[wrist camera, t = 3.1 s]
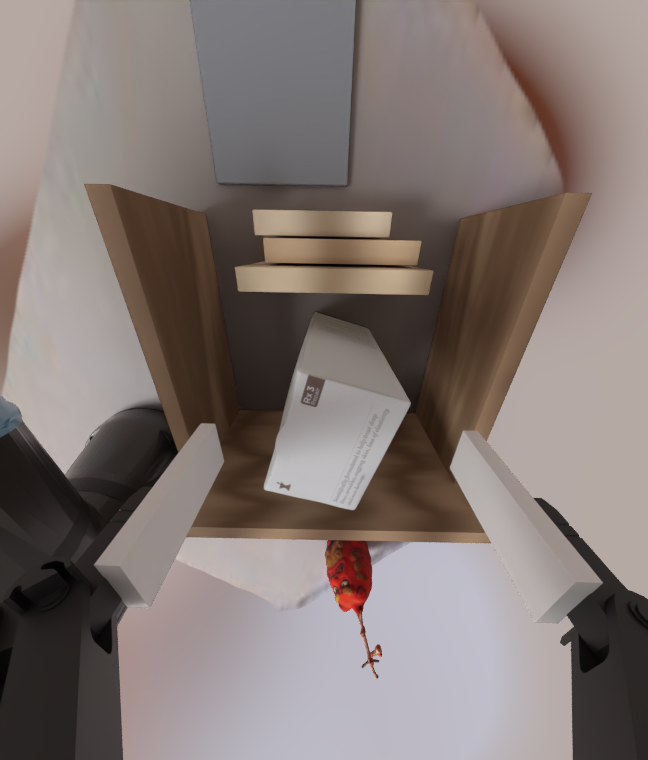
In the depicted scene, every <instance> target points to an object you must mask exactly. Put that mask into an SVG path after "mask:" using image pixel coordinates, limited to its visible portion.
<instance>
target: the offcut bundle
mask: <svg viewBox="0 0 648 760" xmlns="http://www.w3.org/2000/svg"><path fill="white" fill-rule="evenodd" d="M252 212H253V221H254V231H255V235H258V236H263V237H268V238H263V244H264V255H265V261H263V262H258V263H253V264H248V265H242V266H237V267H235V272H236V279H237V286H238V291H242V292H296V293H349V294H402V295H429V290H430V285H431V281H432V276H433V270H428V269H423V268H418V267H413V266H408V265H417V264H418V258H419V253H420V247H421V242H422V241H406V240H378V239H383V238H389V235H390V227H391V219H392V212H357V211H303V210H252Z"/></svg>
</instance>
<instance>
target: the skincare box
mask: <svg viewBox="0 0 648 760" xmlns="http://www.w3.org/2000/svg"><path fill="white" fill-rule="evenodd" d="M410 405H411V402H410V400H409V399H408V397H407V395H406V393H405V391H404V390H403V388H402V386H401V384H400V383H399V381H398V379H397V378H396V376H395V374H394V372H393V371H392V369H391V367H390V365H389V364H388V362H387V360H386V358H385V357H384V355H383V353H382V351H381V350H380V348H379V346H378V344H377V342H376V341H375V339H374V337H373V335H372V334H371V332H370V330H369V329H368V328H365V327H362V326H359V325H356V324H352V323H349V322H346V321H342V320H339V319H336V318H333V317H330V316H326V315H323V314H320V313H317V312H315V313H314V315H313V317H312V320H311V322H310V325H309V328H308V330H307V333H306V336H305V339H304V342H303V345H302V348H301V351H300V354H299V357H298V361H297V364H296V367H295V370H294V374H293V377H292V380H291V384H290V388H289V392H288V396H287V400H286V404H285V408H284V412H283V416H282V421H281V425H280V429H279V433H278V435H277V438H276V443H275V449H274V453H273V456H272V459H271V463H270V466H269V469H268V473H267V476H266V480H265V483H264V490H266V491H271V492H276V493H280V494H284V495H289V496H293V497H297V498H302V499H307V500H312V501H316V502H321V503H325V504H329V505H332V506H336V507H340V508H344V509H350V510H355V509H356V507H357V505H358V503H359V502H360V500H361V498H362V496H363V494H364V492H365V490H366V488H367V486H368V485H369V483H370V481H371V479H372V477H373V475H374V473H375V471H376V470H377V468H378V466H379V464H380V462H381V460H382V458H383V456H384V454H385V453H386V451H387V449H388V447H389V445H390V443H391V441H392V439H393V437H394V435H395V434H396V432H397V430H398V428H399V426H400V424H401V422H402V420H403V418H404V417H405V415H406V413H407V411H408V409H409V407H410Z"/></svg>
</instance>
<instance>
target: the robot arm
mask: <svg viewBox="0 0 648 760" xmlns="http://www.w3.org/2000/svg"><path fill="white" fill-rule="evenodd" d="M223 463H224V458H223V454H222V450H221V446H220V442H219V438H218V433H217V429H216V425H215V424H206V423H201V424H200V425H199V427H198V428H197V429H196V431H195V432H194V433H193V435H192V436H191V437H190V438H189V440H188V441H187V442H186V444H185V445H184V446H183V448H182V449H181V450H180V452H179V453H178V450H177V447H176V444H175V442H174V439H173V436H172V433H171V430H170V427H169V424H168V422H167V419H166V416H165V413H164V412H163V411H158V410H153V409H131V410H126V411H122V412H120V413H117V414H115V415H114V416H112V417H111V418H109V419H108V420H107V421H106V422H104V423H103V424H102V425H100V426H99V427H98V428H97V429H96V430H95V431H94V432H93V433H92V434H91V435H90V437H89V439H88V440H87V442H86V445H85V448H84V450H83V451H82V452H81V454H80V455H79V456H78V458H77V459H76V460H75V461H74V463H73V464H72V466H71V467H70V469H69V470H68V471H67V473H66V474H65V475H64V474H63V472H62V471H61V470H60V468H59V467H58V466H57V465H56V463H55V462H54V461H53V459H52V458H51V457H50V456H49V454H48V453H47V452H46V450H45V449H44V448H43V447H42V445H41V444H40V443H39V441H38V440H37V439H36V438H35V436H34V435H33V434H32V432H31V431H30V430H29V429H28V427H27V426H26V425H25V423H24V422H23V420H22V415H21V412H20V410H19V408H18V407H17V406H16V405H15V404H13V403H11V402H8V401H6V400H5V399H4V398H3V397H2V396H1V394H0V760H123V748H122V726H121V704H120V681H119V659H118V637H117V626H118V624H119V622H120V620H121V619H122V617H123V615H124V613H125V611H126V610H127V608H128V607H129V608H150V607H151V605H152V603H153V601H154V599H155V597H156V595H157V593H158V591H159V589H160V587H161V585H162V583H163V581H164V579H165V577H166V575H167V573H168V571H169V569H170V568H171V566H172V563H173V562H174V560H175V558H176V556H177V554H178V552H179V550H180V548H181V546H182V544H183V542H184V540H185V538H186V536H187V534H188V532H189V530H190V528H191V526H192V524H193V522H194V520H195V518H196V516H197V514H198V512H199V510H200V508H201V506H202V504H203V502H204V500H205V498H206V496H207V494H208V493H209V491H210V489H211V487H212V485H213V483H214V481H215V479H216V477H217V475H218V473H219V471H220V469H221V467H222V465H223ZM450 470H451V471H452V473H453V475H454V477H455V479H456V480H457V482H458V484H459V486H460V488H461V489H462V491H463V493H464V495H465V497H466V499H467V500H468V502H469V504H470V506H471V508H472V509H473V511H474V513H475V515H476V517H477V518H478V520H479V522H480V524H481V526H482V527H483V529H484V531H485V533H486V535H487V536H488V538H489V540H490V542H491V544H492V545H493V547H494V549H495V551H496V553H497V554H498V556H499V558H500V560H501V561H502V563H503V565H504V567H505V569H506V571H507V573H508V574H509V576H510V578H511V580H512V582H513V583H514V585H515V587H516V589H517V591H518V592H519V594H520V596H521V598H522V600H523V602H524V603H525V605H526V607H527V609H528V611H529V612H530V614H531V616H532V618H533V619H534V621H535V622H536V623H559V622H560V621H561V620H563V618H565V617H566V616H568V618H569V619H570V621H571V622H572V623H573V625H574V627H573V628H572V629H571V630H570V631H569V632H567V633H566V634H565V635H564V636H562V638H561V641H560V643H561V644H562V645H564V646H565V645H566V644H568V643H569V642H570V641H571V657H572V659H571V660H572V661H571V662H572V728H573V729H572V731H573V760H648V599H647V598H645V597H644V596H641V595H639V594H637V593H635V592H632V591H629V590H628V589H626V587H625V586H624V585H623V584H622V583H621V582H620V581H619V580H618V579H617V578H616V577H615V575H614V574H613V573H612V572H611V571H610V570H609V569H608V568H607V566H606V565H605V564H604V563H603V562H602V561H601V560H600V558H599V557H598V556H597V555H596V554H595V553H594V552H593V550H592V549H591V548H590V547H589V546H588V545H587V544H586V543H585V542H584V540H583V539H582V538H580V537H579V535H578V533H577V532H576V531H575V530H574V529H573V528H572V527H571V526H569V523H568V522H567V521H566V520H565V519H564V518H563V516H562V515H561V514H560V513H559V512H558V511H557V510H556V509H555V508H554V507H552V506H551V505H549V504H548V503H547V502H546V501H545V500H543V499H542V498H533V497H532V496H531V495H530V494H529V492H528V491H527V490H526V489H525V488H524V486H523V485H522V484H521V483H520V481H519V480H518V479H517V478H516V477H515V476H514V474H513V473H512V472H511V471H510V469H509V468H508V467H507V466H506V465H505V463H504V462H503V461H502V460H501V458H500V457H499V456H498V455H497V454H496V452H495V451H494V450H493V449H492V448H491V447H490V445H489V444H488V443H487V442H486V440H485V439H484V438H483V437H482V435H481V434H480V433H479V432H478V431H463V432H462V435H461V438H460V441H459V443H458V446H457V449H456V452H455V455H454V457H453V460H452V463H451V466H450Z"/></svg>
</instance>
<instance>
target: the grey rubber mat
mask: <svg viewBox="0 0 648 760" xmlns="http://www.w3.org/2000/svg"><path fill="white" fill-rule="evenodd" d="M190 6H191V12H192V19H193V26H194V33H195V39H196V46H197V53H198V59H199V66H200V73H201V79H202V86H203V93H204V100H205V106H206V113H207V120H208V126H209V133H210V140H211V146H212V153H213V160H214V167H215V173H216V180H217V183H218V184H234V185H290V186H345V187H346V186H347V173H348V152H349V131H350V111H351V90H352V69H353V48H354V27H355V6H356V0H190Z"/></svg>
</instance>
